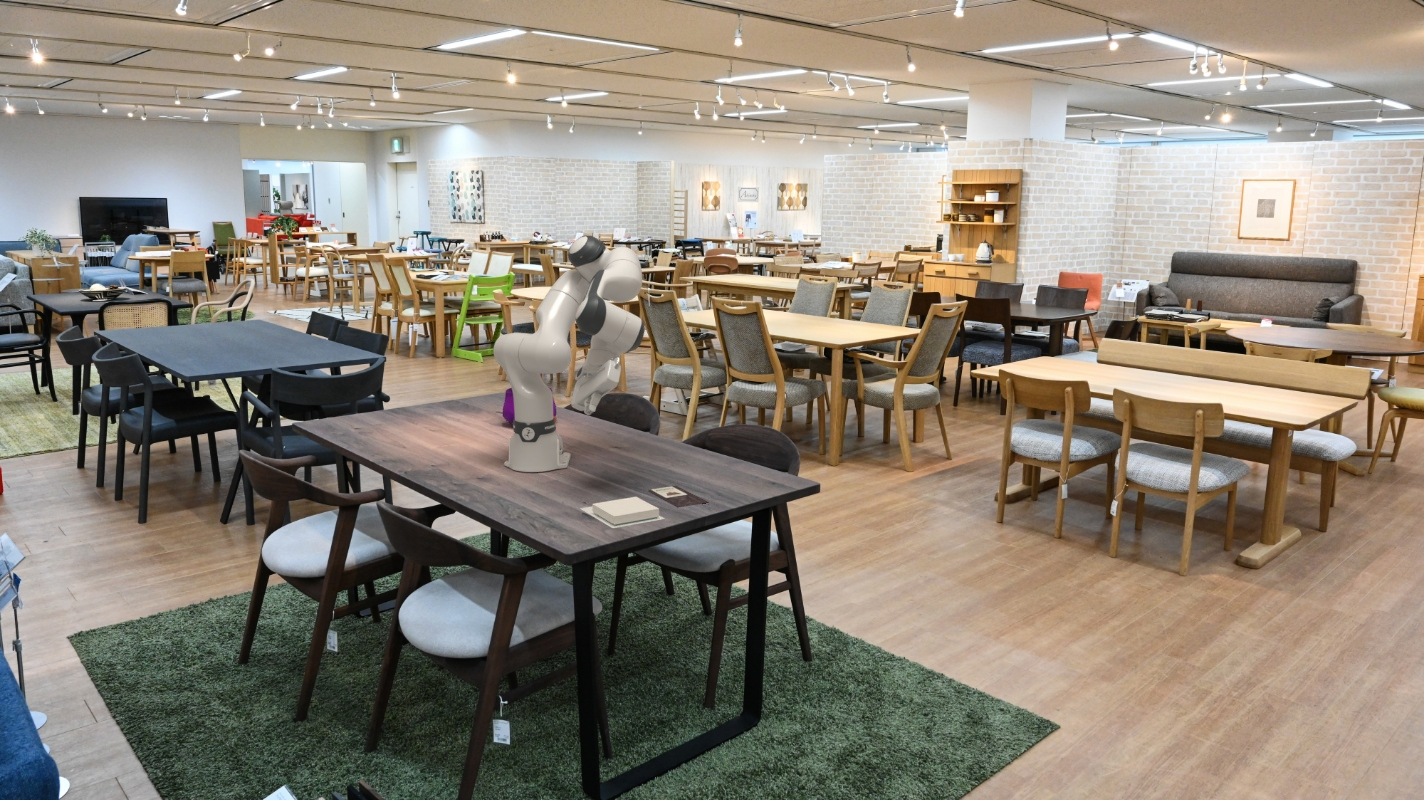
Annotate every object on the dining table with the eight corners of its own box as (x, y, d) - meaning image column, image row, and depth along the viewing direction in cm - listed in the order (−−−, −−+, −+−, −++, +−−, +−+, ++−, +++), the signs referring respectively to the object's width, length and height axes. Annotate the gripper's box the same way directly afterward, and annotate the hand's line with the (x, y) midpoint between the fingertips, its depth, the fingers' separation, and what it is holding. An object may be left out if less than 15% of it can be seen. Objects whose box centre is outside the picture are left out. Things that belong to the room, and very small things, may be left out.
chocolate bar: (677, 507, 245) (646, 490, 261) (677, 511, 245) (646, 493, 261) (708, 502, 250) (676, 485, 265) (708, 505, 250) (676, 489, 265)
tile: (592, 503, 240) (614, 516, 230) (635, 496, 246) (659, 508, 236) (592, 513, 240) (614, 526, 230) (636, 505, 246) (659, 518, 236)
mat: (579, 510, 244) (579, 508, 244) (629, 502, 251) (629, 500, 251) (612, 530, 229) (612, 528, 229) (665, 520, 236) (665, 518, 236)
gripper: (630, 358, 253) (619, 403, 246) (593, 386, 268) (581, 429, 261) (609, 347, 250) (598, 393, 243) (573, 376, 266) (561, 420, 258)
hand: (589, 412), depth 252 cm, fingers closed
